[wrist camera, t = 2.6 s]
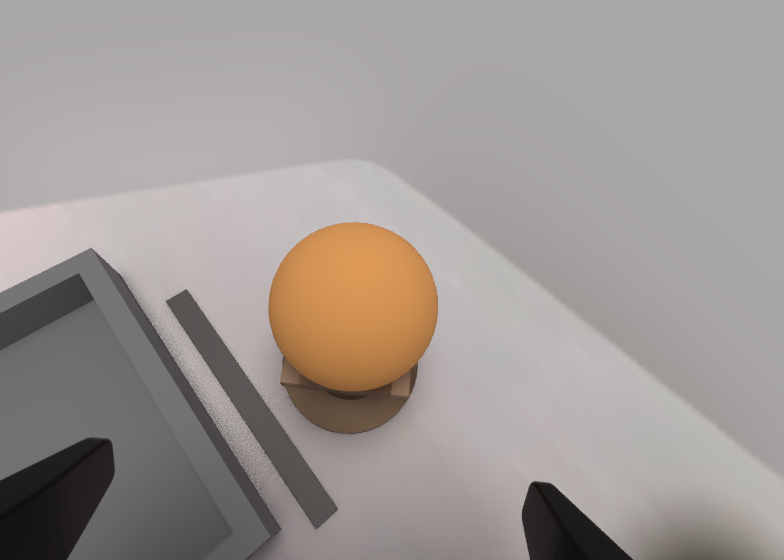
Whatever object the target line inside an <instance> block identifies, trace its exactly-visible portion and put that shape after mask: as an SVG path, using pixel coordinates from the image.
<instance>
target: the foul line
mask: <svg viewBox="0 0 784 560" xmlns="http://www.w3.org/2000/svg"><path fill="white" fill-rule="evenodd" d="M166 302H167V304H168V305H169V307H170V308H171V310H172V312H173V313H174V315H175V316H176V318H177V319H178V321H179V322H180V324H181V325H182V327H183V328H184V330H185V331H186V333H187V334H188V336H189V337H190V339H191V340H192V342H193V343H194V345H195V346H196V348H197V349H198V351H199V352H200V354H201V355H202V357H203V358H204V360H205V361H206V363H207V365H208V366H209V368H210V369H211V371H212V372H213V374H214V375H215V377H216V378H217V380H218V381H219V383H220V384H221V386H222V387H223V389H224V390H225V392H226V393H227V395H228V396H229V398H230V399H231V401H232V402H233V404H234V405H235V407H236V408H237V410H238V411H239V413H240V414H241V416H242V418H243V419H244V421H245V422H246V424H247V425H248V427H249V428H250V430H251V431H252V433H253V434H254V436H255V437H256V439H257V440H258V442H259V443H260V445H261V446H262V448H263V449H264V451H265V452H266V454H267V455H268V457H269V458H270V460H271V461H272V463H273V464H274V466H275V468H276V469H277V471H278V472H279V474H280V475H281V477H282V478H283V480H284V481H285V483H286V484H287V486H288V487H289V489H290V490H291V492H292V493H293V495H294V496H295V498H296V499H297V501H298V502H299V504H300V505H301V507H302V508H303V510H304V511H305V513H306V514H307V516H308V517H309V519H310V521H311V522H312V524H313V525H314V527H315V528H316V529H317V528H318V527H319V526H320V525H321V524H322V523H323V522H324V521H325V520H326V519H328V518H329V517H330V516H331V515H332V514H333V513H334V512H335V511H336V510H337V509H338V508H337V507H336V506H335V504H334V503H333V501H332V500H331V498H330V497H329V495H328V494H327V492H326V491H325V490H324V488H323V487H322V485H321V484H320V482H319V481H318V479H317V478H316V476H315V475H314V474H313V472H312V471H311V469H310V468H309V466H308V465H307V463H306V462H305V461H304V459H303V458H302V456H301V455H300V453H299V452H298V450H297V449H296V447H295V446H294V445H293V443H292V442H291V440H290V439H289V437H288V436H287V434H286V433H285V431H284V430H283V429H282V427H281V426H280V424H279V423H278V421H277V420H276V418H275V417H274V415H273V414H272V413H271V411H270V410H269V408H268V407H267V405H266V404H265V402H264V401H263V399H262V398H261V397H260V395H259V394H258V392H257V391H256V389H255V388H254V386H253V385H252V383H251V382H250V381H249V379H248V378H247V376H246V375H245V373H244V372H243V370H242V369H241V368H240V366H239V365H238V363H237V362H236V360H235V359H234V357H233V356H232V354H231V353H230V352H229V350H228V349H227V347H226V346H225V344H224V343H223V341H222V340H221V338H220V337H219V336H218V334H217V333H216V331H215V330H214V328H213V327H212V325H211V324H210V322H209V321H208V320H207V318H206V317H205V315H204V314H203V312H202V311H201V309H200V308H199V306H198V305H197V304H196V302H195V301H194V299H193V298H192V296H191V295H190V293H189V292H188V291H187V289H186V290H184V291H183V292H181V293H179V294H177V295H176V296H174V297H172V298H171V299H169V300H167V301H166Z"/></svg>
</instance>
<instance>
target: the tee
mask: <svg viewBox="0 0 784 560" xmlns="http://www.w3.org/2000/svg"><path fill="white" fill-rule="evenodd" d="M417 369H418V362H417V363H416V364H415V365H414V366H413V367H412V368H411V369H410V370H409V371H408V372H407V373H405V374H404V375H403V376H401V377H400V378H398V379H397V380H395V381H393V382H391V383H389V384H387V385H384V386H381V387H379V388H375V389H371V390H366V391H355V392H354V391H340V390H335V389H330V388H327V387H324V386H321V385H319V384H317V383H315V382H313V381H311V380H309V379H308V378H306V377H305V376H303V375H302V374H300V373H299V372H298V371H297V370H296V369H295V368H294V367H293V366H292V365H291V364H290V363H289V362H288V360H287V359H286V358H285V357H284V356H283V371H282V375H281V380H280V383H281V384H282V386H286V389H287V391H288V393H289V396H290V398H291V399H292V401H293V403H294V404H295V406H296V407H297V408H298V410H299V411H300V412H301V413H302V414H303V415H304V416H305V417H306V418H307V419H308V420H310V421H311V422H312V423H314V424H315V425H317V426H319V427H321V428H323V429H326V430H329V431H332V432H338V433H349V434H352V433H361V432H365V431H369V430H371V429H374V428H377V427H379V426H380V425H382V424H384V423H386V422H387V421H388V420H390V419H391V418H392V417H393V416H394V415H395V414H396V413H397V412H398V411H399V410H400V409H401V408H402V406H403V405H404V404H405V402H406V401H407V399H408V398H409V396H410V394H411V392H412V390H413V387H414V384H415V381H416V377H417Z"/></svg>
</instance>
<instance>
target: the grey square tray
mask: <svg viewBox="0 0 784 560" xmlns="http://www.w3.org/2000/svg"><path fill="white" fill-rule="evenodd" d="M89 437H98V438H107V439H110V440H111V442H112V444H113V453H114V463H115V474H114V478H113V480H112V482H111V484H110V486H109V488H108V490H107V491H106V493H105V495H104V497H103V498H102V500H101V502H100V504H99V505H98V507H97V509H96V511H95V512H94V514H93V516H92V518H91V519H90V521H89V523H88V525H87V526H86V528H85V530H84V532H83V533H82V535H81V537H80V539H79V540H78V542H77V544H76V546H75V547H74V549H73V551H72V552H71V554H70V556H69V557H68V559H67V560H247V559H248V558H249V557H250V556H251V555H252V554H253V553H255V552H256V551H257V550H258V549H259V548H260V547H261V546H263V545H264V544H265V543H266V542H267V541H268V540H269V539H270V538H272V537H273V536H274V535H275V534H276V533H277V532H278V531H280V530H281V528H280V526H279V525H278V523H277V522H276V520H275V519H274V517H273V515H272V514H271V512H270V511H269V509H268V507H267V506H266V504H265V503H264V501H263V500H262V498H261V496H260V495H259V493H258V492H257V490H256V489H255V487H254V485H253V484H252V482H251V481H250V479H249V477H248V476H247V474H246V473H245V471H244V470H243V468H242V466H241V465H240V463H239V462H238V460H237V459H236V457H235V455H234V454H233V452H232V451H231V449H230V447H229V446H228V444H227V443H226V441H225V440H224V438H223V436H222V435H221V433H220V432H219V430H218V428H217V427H216V425H215V424H214V422H213V421H212V419H211V417H210V416H209V414H208V413H207V411H206V410H205V408H204V406H203V405H202V403H201V402H200V400H199V398H198V397H197V395H196V394H195V392H194V391H193V389H192V387H191V386H190V384H189V383H188V381H187V379H186V378H185V376H184V375H183V373H182V372H181V370H180V368H179V367H178V365H177V364H176V362H175V361H174V359H173V357H172V356H171V354H170V353H169V351H168V349H167V348H166V346H165V345H164V343H163V342H162V340H161V338H160V337H159V335H158V334H157V332H156V331H155V329H154V327H153V326H152V324H151V323H150V321H149V319H148V318H147V316H146V315H145V313H144V312H143V310H142V308H141V307H140V305H139V304H138V302H137V300H136V299H135V297H134V296H133V294H132V293H131V291H130V289H129V288H128V286H127V285H126V283H125V282H124V280H123V278H122V277H121V275H120V274H119V273H117V272H116V271H115V270H114V269H113V268H112V267H111V266H110V265H109V264H108V263H107V262H106V261H105V260H104V259H103V258H102V257H100V256H99V255H98V254H97V253H96V252H95V251H94V250H93V249H92V248H90V249H88V250H86V251H84V252H82V253H80V254H78V255H76V256H74V257H72V258H70V259H68V260H66V261H64V262H62V263H60V264H58V265H56V266H54V267H52V268H50V269H48V270H46V271H44V272H42V273H40V274H37V275H35V276H33V277H31V278H29V279H27V280H25V281H23V282H21V283H19V284H17V285H15V286H13V287H11V288H9V289H7V290H5V291H3V292H1V293H0V480H2V479H4V478H6V477H8V476H10V475H12V474H14V473H16V472H18V471H20V470H22V469H24V468H26V467H28V466H30V465H32V464H34V463H37V462H39V461H41V460H43V459H45V458H47V457H49V456H51V455H53V454H55V453H57V452H59V451H61V450H63V449H65V448H67V447H69V446H71V445H73V444H75V443H77V442H79V441H81V440H83V439H86V438H89Z"/></svg>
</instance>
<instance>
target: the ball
mask: <svg viewBox="0 0 784 560" xmlns="http://www.w3.org/2000/svg"><path fill="white" fill-rule="evenodd" d="M437 315H438V296H437V291H436V286H435V283H434V280H433V277H432V274H431V272H430V270H429V268H428V266H427V264H426V262H425V261H424V259H423V258H422V257H421V255H420V254H419V253H418V252H417V250H416V249H415V248H414V247H413V246H412V245H411V244H410V243H409V242H407V241H406V240H405V239H403V238H402V237H401V236H399V235H397V234H395V233H394V232H392V231H390V230H387V229H385V228H382V227H379V226H376V225H372V224H367V223H356V222H355V223H342V224H336V225H332V226H328V227H325V228H322V229H320V230H318V231H316V232H314V233H312V234H310V235H308V236H307V237H306V238H304V239H303V240H301V241H300V242H299V243H298V244H297V245H296V246H295V247H294V248H292V250H291V251H290V252H289V253H288V254H287V255H286V257H285V258H284V260H283V261H282V263H281V264H280V266H279V268H278V270H277V272H276V274H275V276H274V279H273V282H272V285H271V290H270V295H269V320H270V325H271V329H272V332H273V336H274V339H275V341H276V343H277V345H278V347H279V349H280V351H281V352H282V354H283V355H284V357H285V358H286V359H287V360H288V362H289V363H290V364H291V365H292V366H293V367H294V368H295V369H296V370H297V371H298V372H299V373H300V374H302V375H303V376H305V377H306V378H308V379H309V380H311V381H313V382H315V383H317V384H319V385H321V386H324V387H327V388H330V389H335V390H340V391H354V392H355V391H366V390H371V389H375V388H379V387H381V386H384V385H387V384H389V383H391V382H393V381H395V380H397V379H398V378H400V377H401V376H403V375H404V374H405V373H407V372H408V371H409V370H410V369H411V368H412V367H413V366H414V365H415V364H416V363H417V362H418V360H419V359H420V358H421V357H422V355H423V354H424V352H425V351H426V349H427V347H428V346H429V344H430V341H431V339H432V336H433V334H434V331H435V327H436V323H437Z"/></svg>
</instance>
